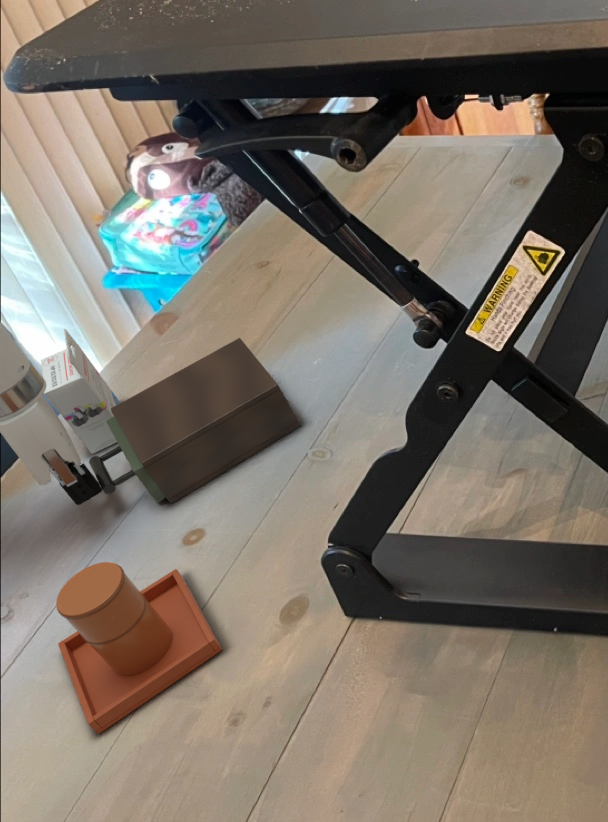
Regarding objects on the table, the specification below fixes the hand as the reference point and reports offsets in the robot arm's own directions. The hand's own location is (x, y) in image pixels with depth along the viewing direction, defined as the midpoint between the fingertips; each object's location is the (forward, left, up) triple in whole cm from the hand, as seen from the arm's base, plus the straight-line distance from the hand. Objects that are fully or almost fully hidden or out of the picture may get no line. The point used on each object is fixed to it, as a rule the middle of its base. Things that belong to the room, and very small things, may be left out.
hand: (88, 495), depth 132 cm
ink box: (+5, +15, -3) cm, 16 cm away
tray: (-2, -27, -3) cm, 27 cm away
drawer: (+12, 0, -2) cm, 12 cm away
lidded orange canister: (-2, -27, -2) cm, 27 cm away
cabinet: (+16, 0, -3) cm, 16 cm away
